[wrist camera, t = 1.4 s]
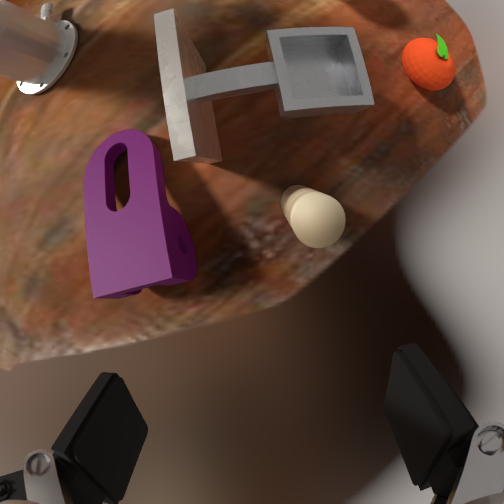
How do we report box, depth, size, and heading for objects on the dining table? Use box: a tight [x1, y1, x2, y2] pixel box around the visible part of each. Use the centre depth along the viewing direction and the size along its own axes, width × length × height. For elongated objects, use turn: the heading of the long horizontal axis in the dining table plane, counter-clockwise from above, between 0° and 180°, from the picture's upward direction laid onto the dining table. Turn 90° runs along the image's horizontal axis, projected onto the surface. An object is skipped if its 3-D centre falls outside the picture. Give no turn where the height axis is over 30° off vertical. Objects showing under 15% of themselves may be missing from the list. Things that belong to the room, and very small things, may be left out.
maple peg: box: [280, 185, 346, 248], centre depth 26 cm, size 4×4×12 cm
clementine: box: [402, 34, 455, 90], centre depth 23 cm, size 8×7×7 cm
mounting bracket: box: [84, 129, 197, 299], centre depth 31 cm, size 9×8×18 cm
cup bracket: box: [154, 9, 375, 164], centre depth 22 cm, size 12×15×14 cm
